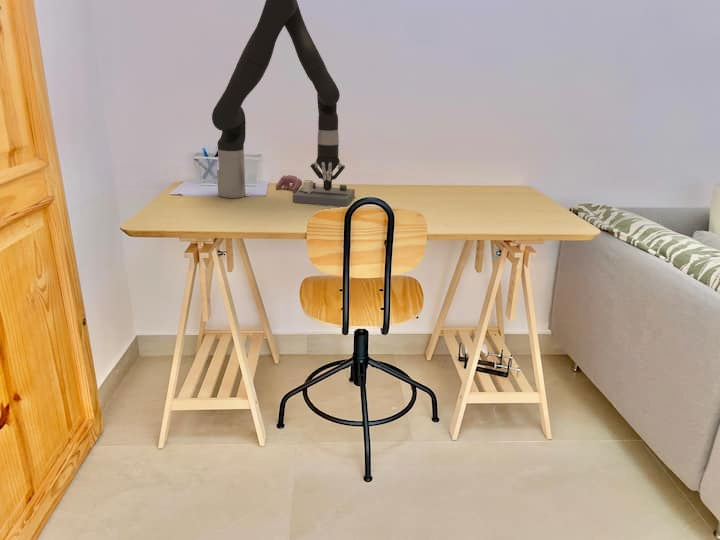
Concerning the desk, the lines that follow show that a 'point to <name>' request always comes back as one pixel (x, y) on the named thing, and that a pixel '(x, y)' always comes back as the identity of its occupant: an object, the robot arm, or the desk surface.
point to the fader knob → (307, 185)
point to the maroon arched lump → (286, 182)
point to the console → (325, 196)
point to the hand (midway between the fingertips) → (327, 190)
